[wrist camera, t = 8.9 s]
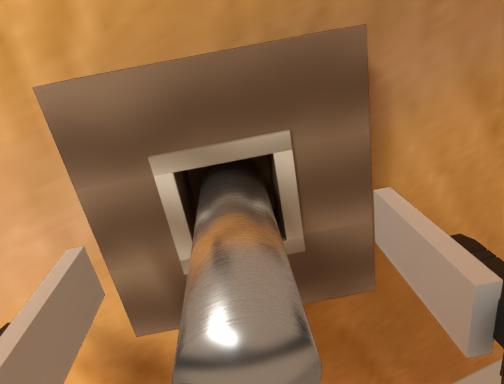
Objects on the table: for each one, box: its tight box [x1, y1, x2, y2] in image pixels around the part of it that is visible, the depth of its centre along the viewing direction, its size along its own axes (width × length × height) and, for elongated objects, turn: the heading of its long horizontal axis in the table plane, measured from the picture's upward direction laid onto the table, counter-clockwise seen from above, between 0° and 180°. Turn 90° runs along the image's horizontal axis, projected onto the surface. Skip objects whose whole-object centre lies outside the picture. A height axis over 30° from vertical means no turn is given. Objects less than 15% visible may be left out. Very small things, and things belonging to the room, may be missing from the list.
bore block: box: [32, 24, 375, 337], centre depth 21 cm, size 16×16×5 cm
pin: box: [172, 158, 322, 384], centre depth 16 cm, size 4×4×15 cm
